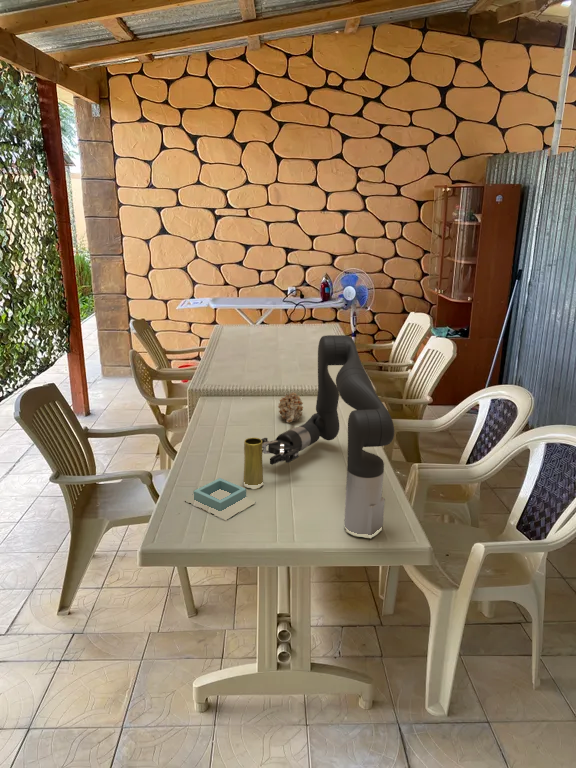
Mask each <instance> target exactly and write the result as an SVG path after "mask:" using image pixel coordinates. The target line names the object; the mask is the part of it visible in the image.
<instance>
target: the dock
mask: <svg viewBox="0 0 576 768" xmlns="http://www.w3.org/2000/svg"><path fill="white" fill-rule="evenodd" d="M219 489H221V490H224V491H227V492H229V493H231V494H230V495H229V496H227V497H225V498H223V499H221V500H219V499H217V498H215V497H213V496H210V494H211V493H213V492H215V491H217V490H219ZM193 494H194V500H196V501H198V502H200V503H202V504H204V505H207V506H209V507H211V508H214V509H216V510H218V511H222V510H224V509H226V508H227V507H229V506H231V505H233V504H235V503H236V502H238V501H240V500H242V499H243V498H245V497H247V488H245V487H244V486H241V485H239V484H237V483H233V482H230V481H229V480H226V479H223V478H221V477H218V478H217V479H214V480H213V481H211V482H209V483H206V484H205V485H202V486H200V487H199V488H197V489H195V490H193Z"/></svg>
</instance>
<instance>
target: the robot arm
mask: <svg viewBox="0 0 576 768" xmlns="http://www.w3.org/2000/svg"><path fill="white" fill-rule="evenodd" d="M329 366H341V367H340V369H339V371H337V373H336V376H335V381H334V379H333V378H332V376H331V375H330V373H329V368H328V367H329ZM340 398H341V399H342V401H343V402H344V403H345V404H347V405H348V406H349V407H351V408H352V409H354V410H352V411H351V412H350V413H349V415H348V419H347V420H348V421H347V465H346V466H347V467H346V485H345V501H344V519H343V522H344V523H343V524H344V525H345V527H346V528H347V529H348V530H349V531H351V532H354V533H357V534H368V535H372V534H374V533H375V532H376V531H377V530H379V529H380V528H381V527H382V526H383V525H384V514H385V501H386V499H385V497H382V496H383V486H384V485H383V484H384V474H385V473H384V470H385V462H384V460H383V459H382V457H380V456H379V455H377V454H375V453H372V452H369V451H366V450H365V449H364V448H368V447H369V448H371V447H375V448H377V447H378V448H379V447H384V446H388V445H390V444H391V443H392V442H393V440H394V437H395V426H394V421H393V419H392V416H391V414H390V411H388V408H386V406H385V404H384V403H383V402H382V400H381V399H380V397H379V396H378V394H377V393H376V391H375V388H374V386H373V383H372V381H371V379H370V376H369V374H368V373H367V371H366V369H365V367H364V365H363V363H362V361H361V358H360V356H359V353H358V349H357V347H356V344H355V341H354V339H353V337H351V336H349V335H344V334H343V335H331V334H330V335H323V336H321V338H319V342H318V347H317V397H316V404H315V411H316V413H314V414H312V415H311V416H310V418H308V420H307V421H306V422H305V423H303V424H302V425H299V426H297V427H292V428H290V429H289V430H287V431H284V432H283V433H280V434H278V435H277V437H276V438H275V439H274V440H271V441H270V440H268V437H264V438H260V439H261V440H262V454H264V455H267V454H268V455H269V454H273V456H270V458H269V465H271V466H273V465H276V464H278V463H281V462H285V463H287V464H288V463H291V462H292V461H294V460H296V459H297V458H299V453H300V452H302V451H303V450H305V449H306V448H307V447H309V446H311V445H314V444H315V443H316V442H318V441H319V439H320V438H322V439H323V440H325V441H332V440H334V439H335V438H336V437H337V436H338V434H339V433H340V432H339V431H340V420H339V413H338V406H339V400H340ZM267 448H268V450H267ZM344 525H343V526H344ZM383 527H384V526H383Z"/></svg>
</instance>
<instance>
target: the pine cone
mask: <svg viewBox="0 0 576 768" xmlns="http://www.w3.org/2000/svg"><path fill="white" fill-rule="evenodd" d="M303 404H304V402H303V400H302V399H301V396H300V395H297V393H296V392H294V391H292V392H290V393H289V394H287V393H286V395H285V396H284V397H283V396H281V398H280V399H279V403H278V406H277V407H278V409H279V410H278V413H279V414H280V415H281V417H282V419H283V420H286V423H290V422H291V423H292V422H293V421H294V422H297V421H299V418H300V417H301V416H303V411H304V406H302V405H303Z"/></svg>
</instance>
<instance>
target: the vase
mask: <svg viewBox="0 0 576 768" xmlns="http://www.w3.org/2000/svg"><path fill="white" fill-rule="evenodd" d="M261 439H262V438H260V437H248V438H245V440H244V441H243V443H244V444H243V453H244V457H243V460H244V461H243V462H244V463H243V482H245V484H248V485H258V484H261V483H262V482H263V483H264V470H263V469H264V467H263V466H264V465H263V453H262V450H263V448H262V440H261Z"/></svg>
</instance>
